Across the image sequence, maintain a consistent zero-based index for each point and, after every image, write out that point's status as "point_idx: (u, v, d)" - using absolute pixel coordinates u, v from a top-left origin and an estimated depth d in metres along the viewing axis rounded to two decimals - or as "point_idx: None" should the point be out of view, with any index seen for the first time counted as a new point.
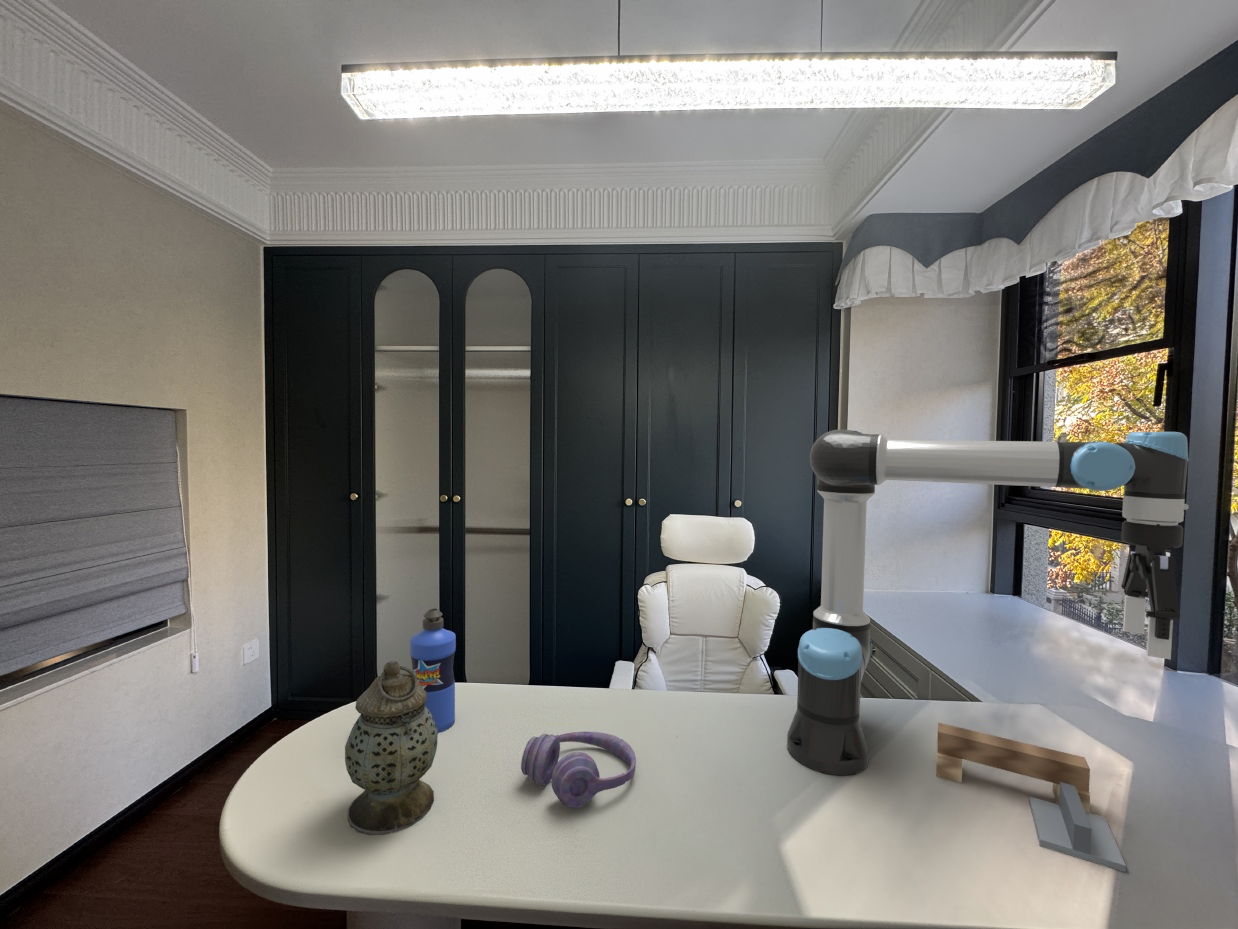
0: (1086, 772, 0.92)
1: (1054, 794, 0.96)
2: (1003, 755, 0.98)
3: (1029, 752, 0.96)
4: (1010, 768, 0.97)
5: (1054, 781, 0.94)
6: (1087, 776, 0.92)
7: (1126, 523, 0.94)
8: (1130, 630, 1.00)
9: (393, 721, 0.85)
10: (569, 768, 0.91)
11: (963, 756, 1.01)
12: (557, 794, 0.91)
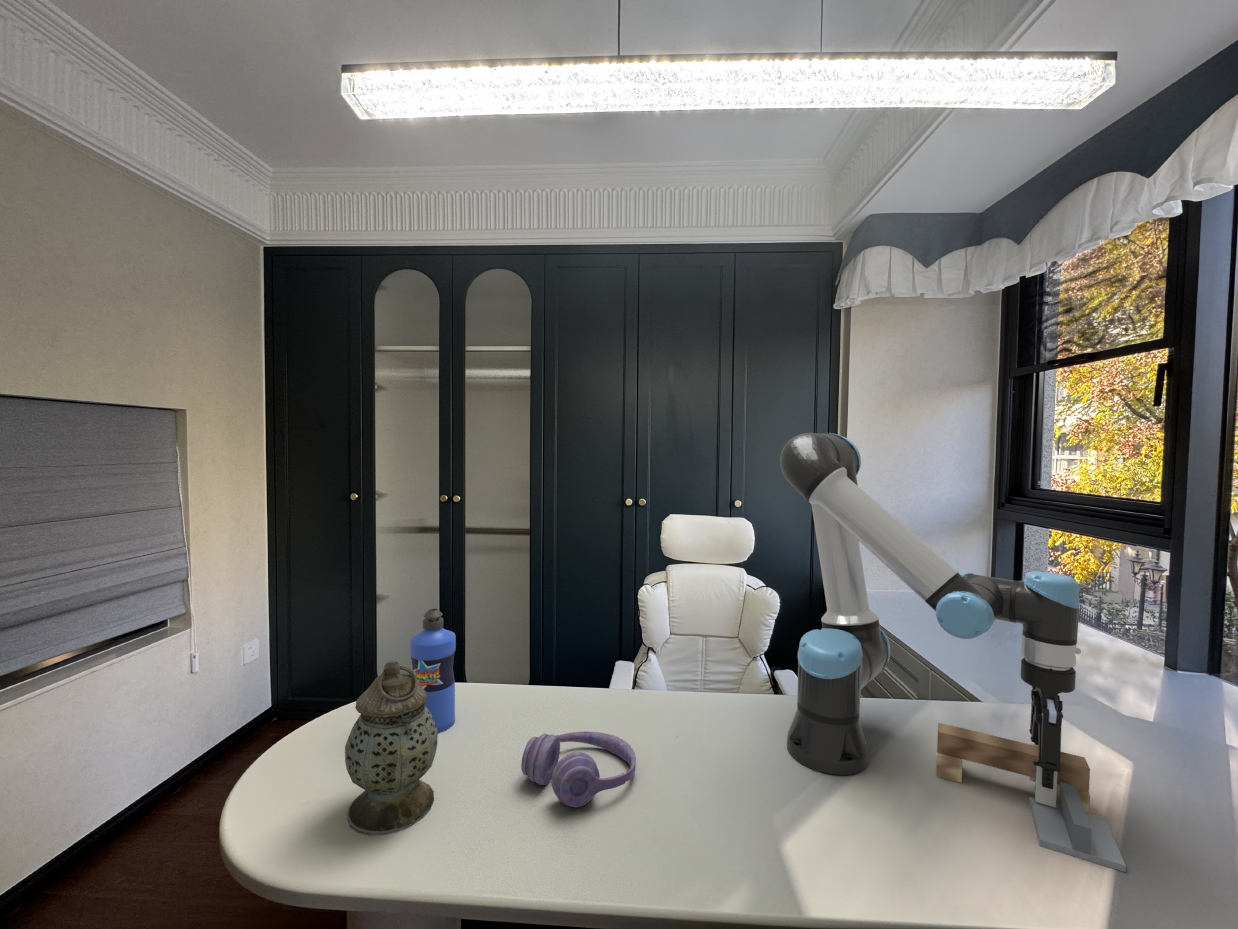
0: (1086, 772, 0.92)
1: None
2: (1003, 755, 0.98)
3: (1029, 752, 0.96)
4: (1010, 768, 0.97)
5: None
6: (1087, 776, 0.92)
7: (1023, 662, 0.96)
8: (1035, 779, 0.99)
9: (393, 721, 0.86)
10: (569, 768, 0.91)
11: (963, 756, 1.01)
12: (557, 794, 0.91)
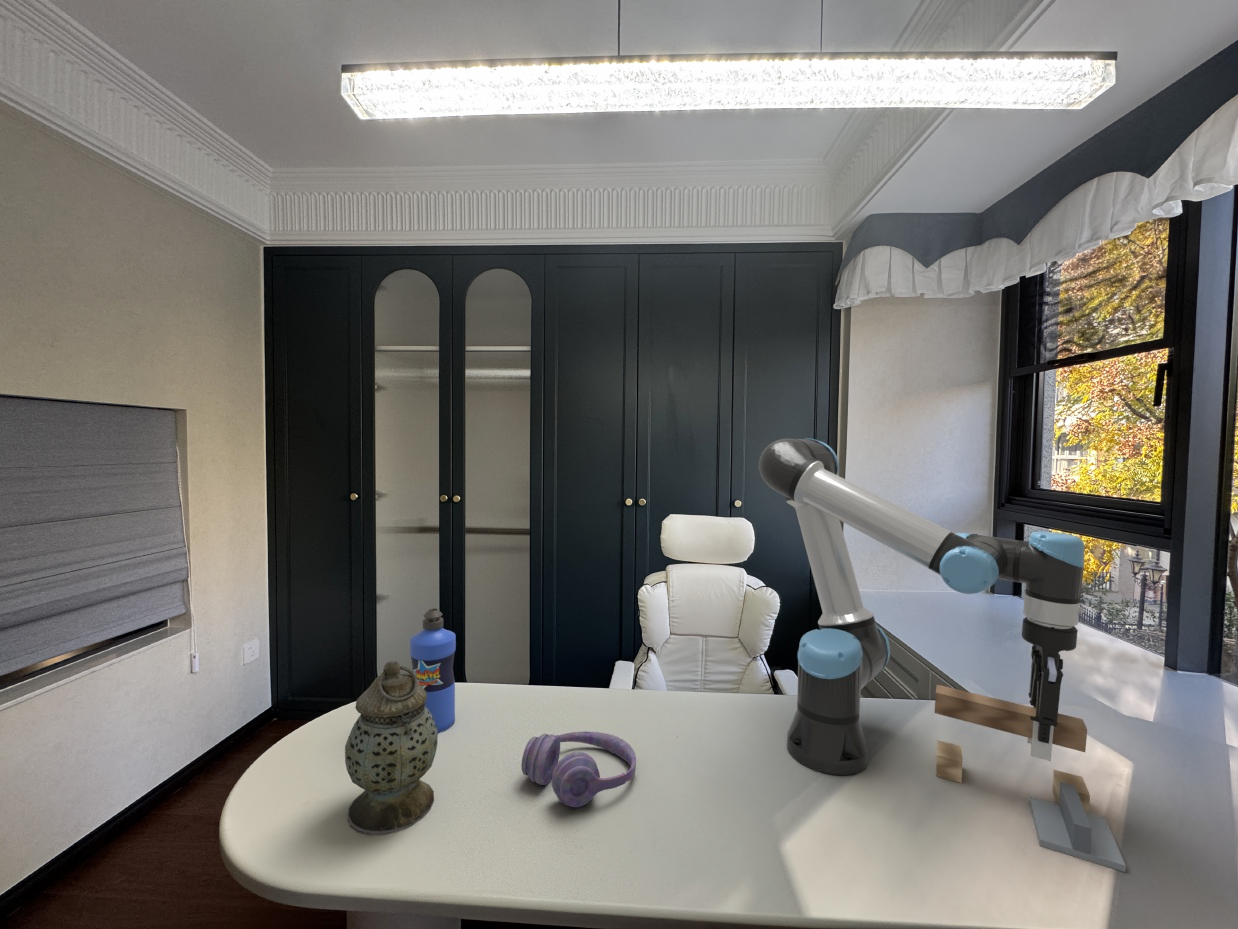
0: (1083, 732, 0.92)
1: (1054, 794, 0.96)
2: (1000, 716, 0.98)
3: (1026, 713, 0.96)
4: (1007, 728, 0.97)
5: None
6: (1084, 736, 0.92)
7: (1025, 621, 0.96)
8: None
9: (393, 721, 0.86)
10: (569, 768, 0.91)
11: (960, 717, 1.01)
12: (557, 794, 0.91)
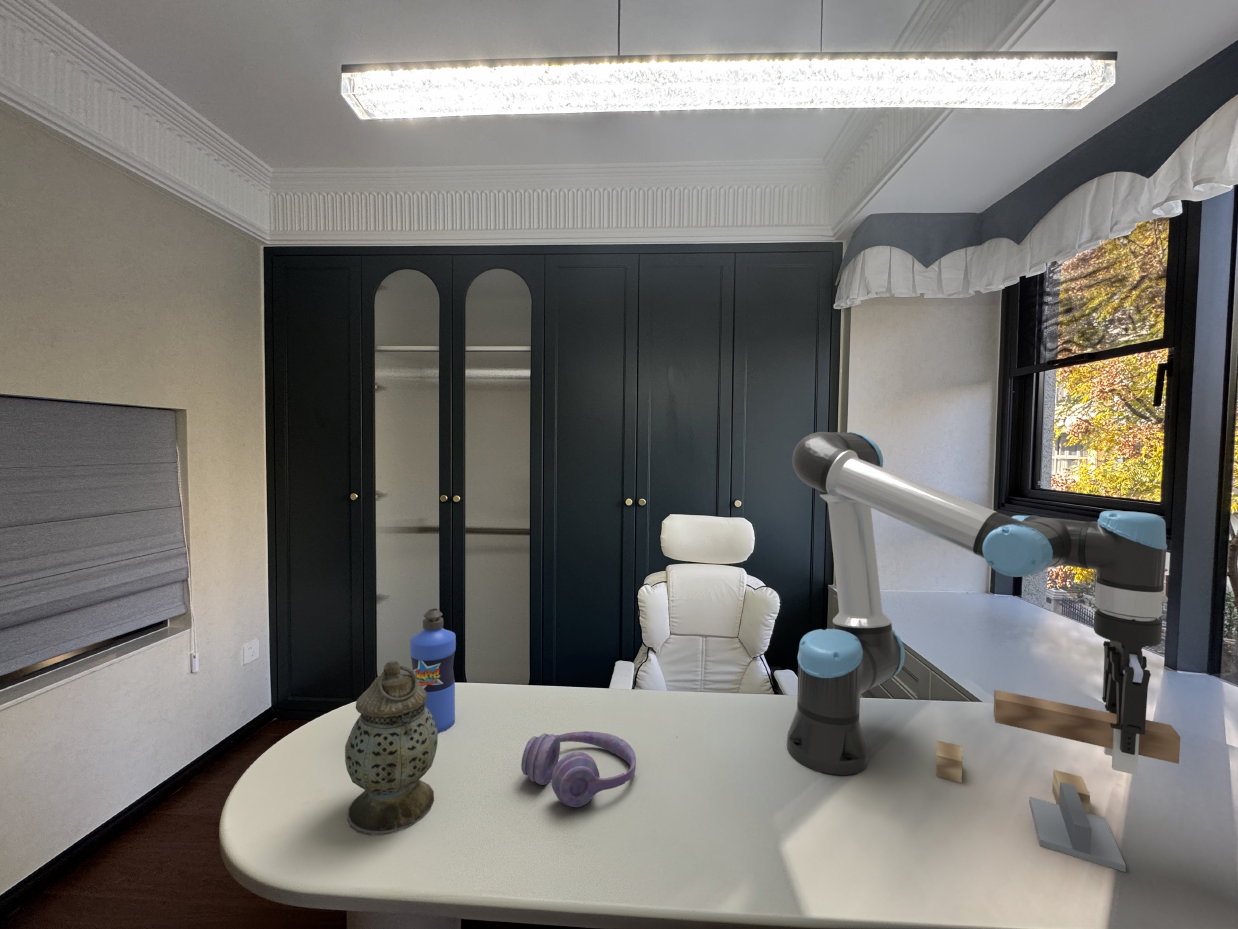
0: (1175, 740, 0.79)
1: (1054, 794, 0.96)
2: (1074, 724, 0.85)
3: (1105, 719, 0.84)
4: (1083, 738, 0.85)
5: None
6: (1177, 745, 0.79)
7: (1099, 614, 0.84)
8: (1111, 753, 0.86)
9: (393, 721, 0.86)
10: (569, 768, 0.91)
11: (1026, 726, 0.88)
12: (557, 794, 0.91)
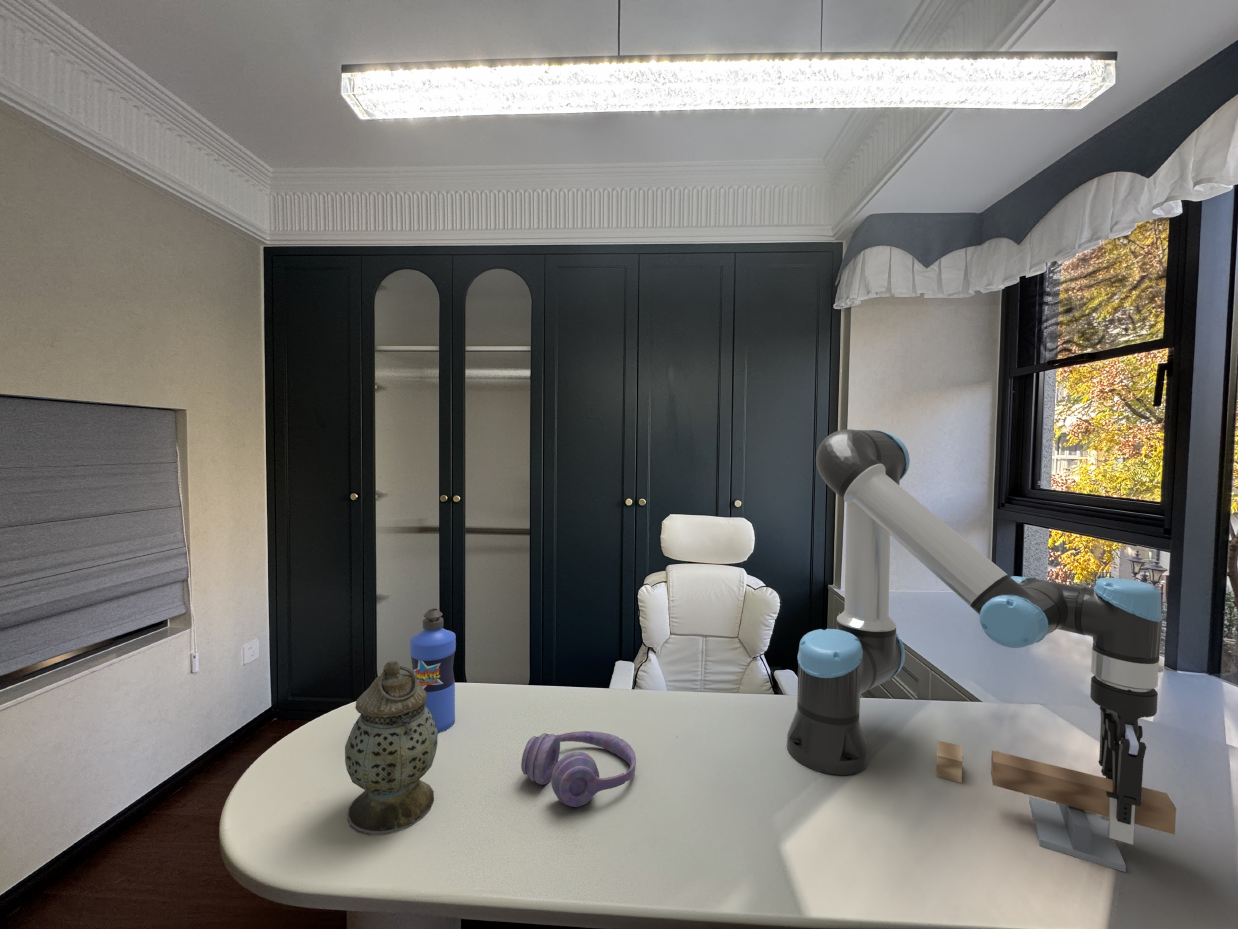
0: (1171, 811, 0.80)
1: None
2: (1071, 790, 0.86)
3: (1101, 786, 0.84)
4: (1079, 805, 0.85)
5: None
6: (1173, 816, 0.80)
7: (1095, 681, 0.85)
8: (1108, 818, 0.87)
9: (393, 721, 0.85)
10: (569, 768, 0.91)
11: (1023, 790, 0.89)
12: (557, 793, 0.91)
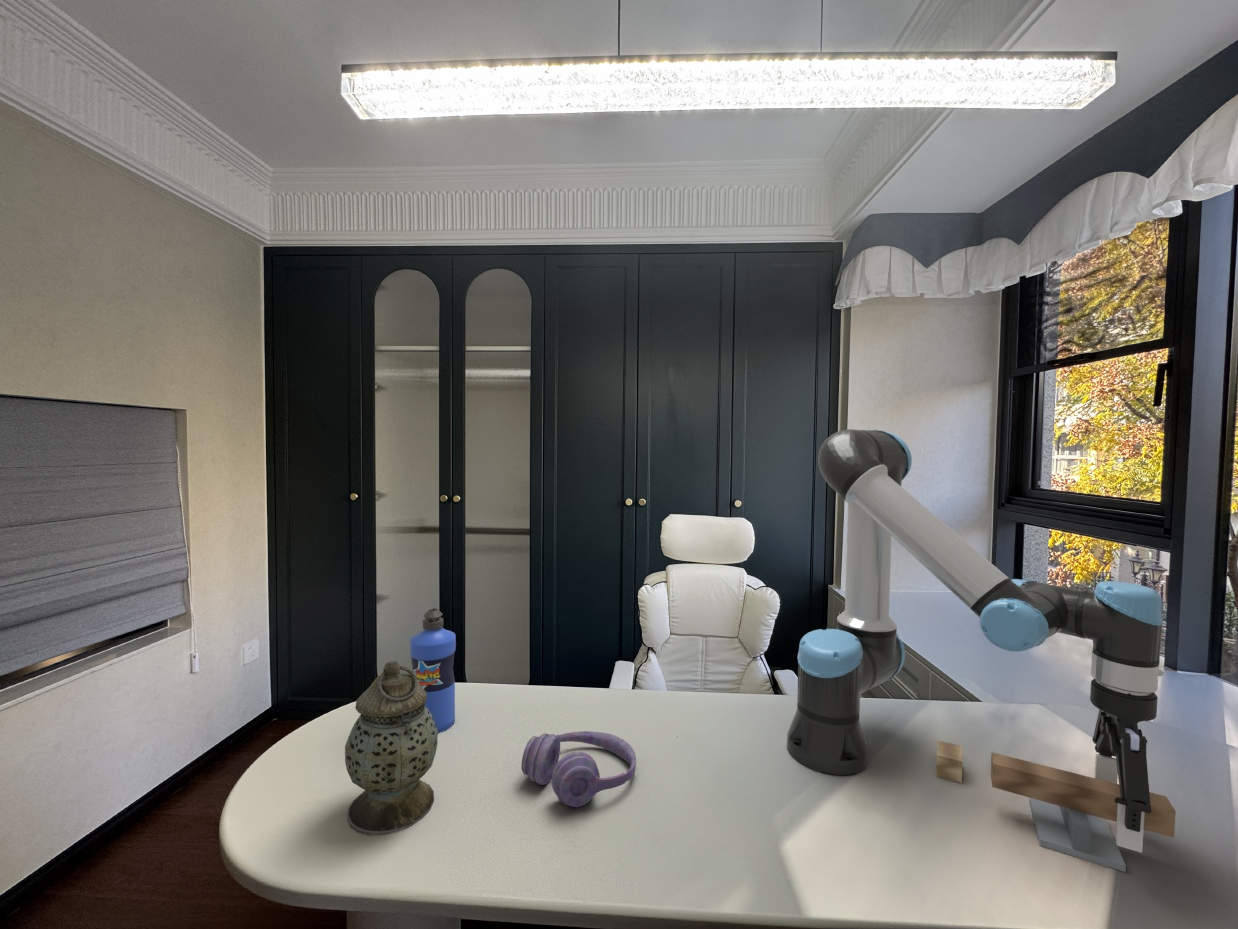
0: (1171, 814, 0.80)
1: None
2: (1070, 792, 0.86)
3: (1101, 789, 0.84)
4: (1079, 807, 0.85)
5: None
6: (1172, 819, 0.80)
7: (1095, 685, 0.85)
8: None
9: (393, 721, 0.85)
10: (569, 768, 0.91)
11: (1023, 792, 0.89)
12: (557, 794, 0.91)
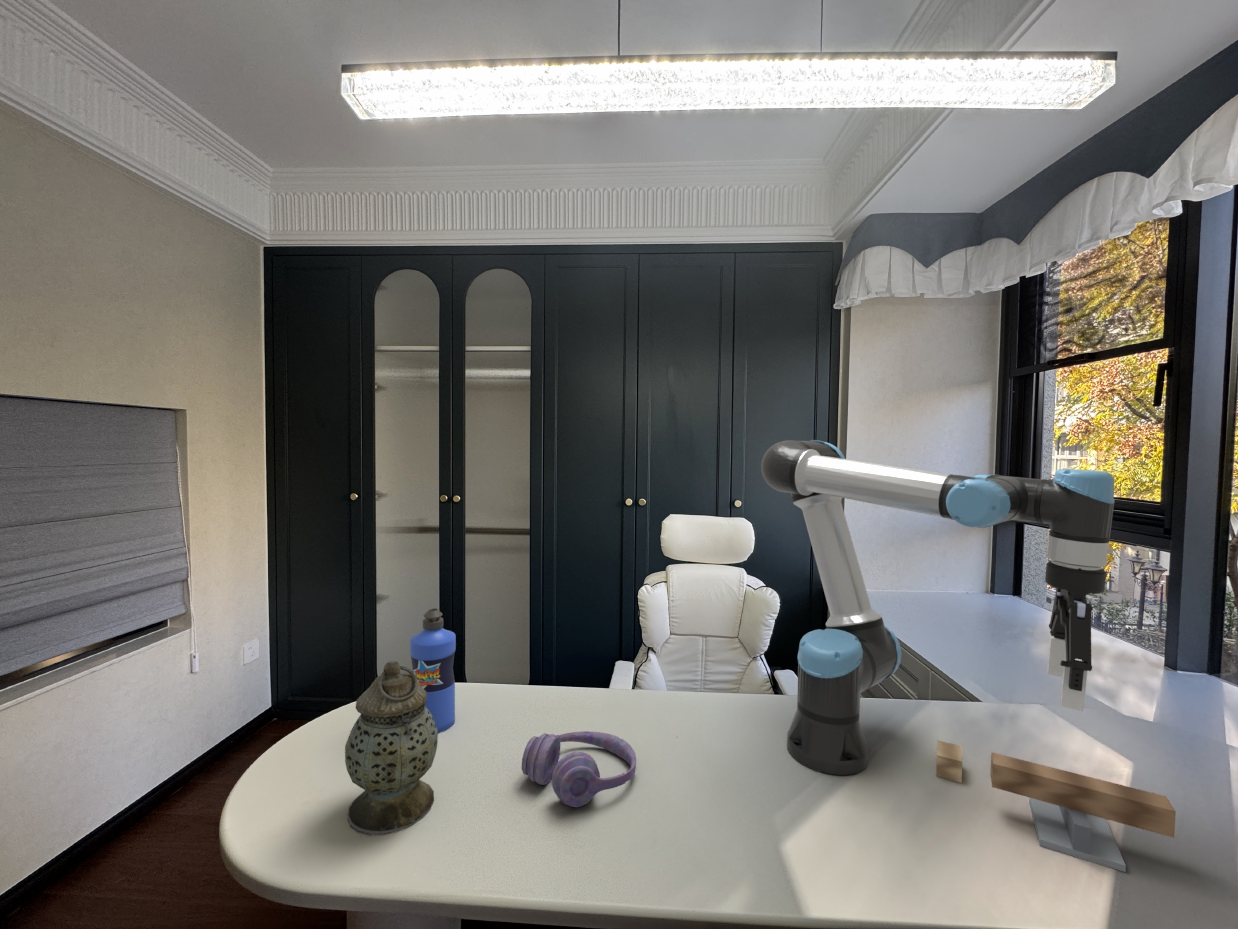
0: (1171, 814, 0.80)
1: None
2: (1070, 792, 0.86)
3: (1101, 789, 0.84)
4: (1079, 807, 0.85)
5: (1132, 824, 0.82)
6: (1172, 819, 0.80)
7: (1049, 564, 0.90)
8: (1053, 672, 0.96)
9: (393, 721, 0.86)
10: (569, 768, 0.91)
11: (1023, 792, 0.89)
12: (557, 794, 0.91)
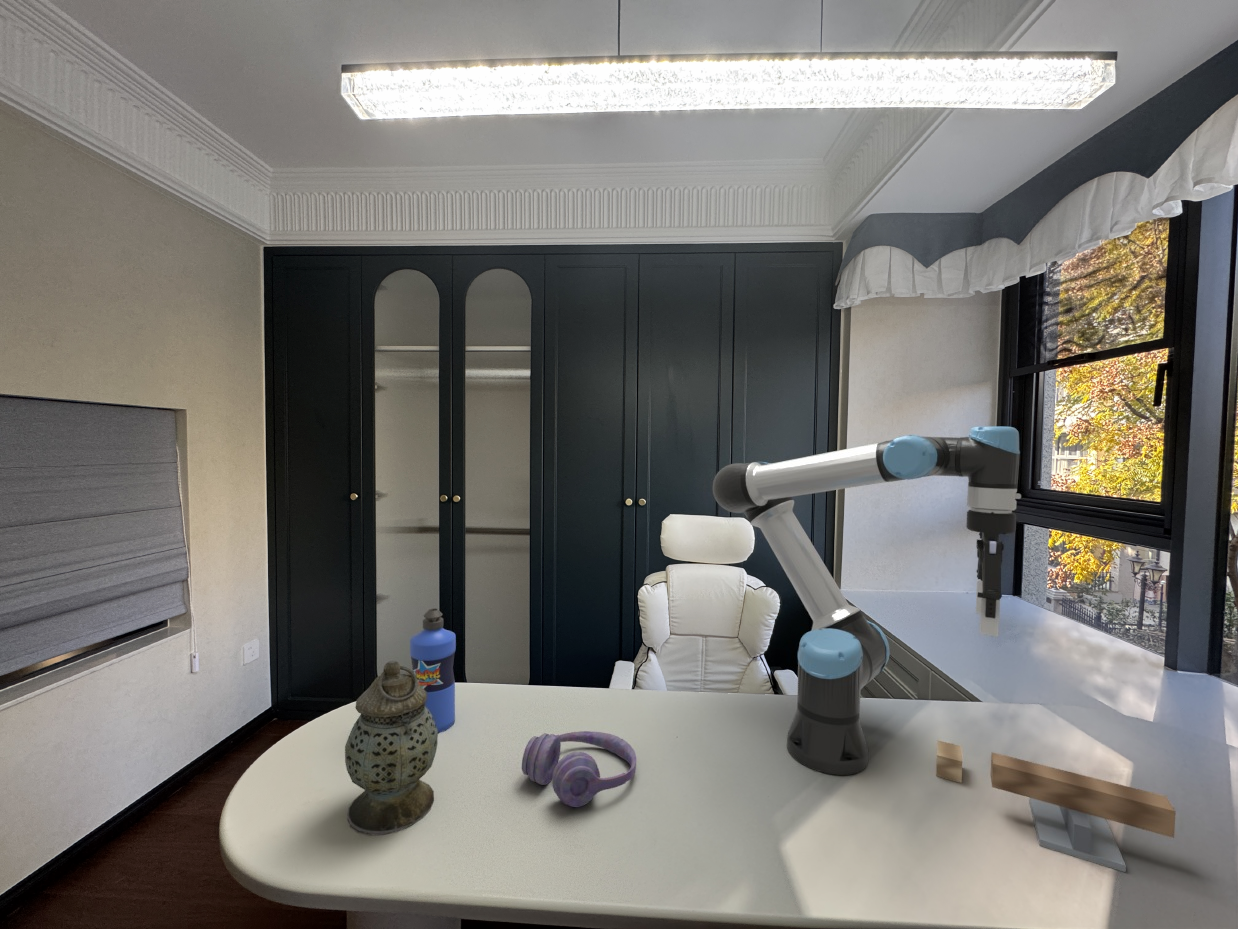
0: (1171, 814, 0.80)
1: None
2: (1070, 792, 0.86)
3: (1101, 789, 0.84)
4: (1079, 807, 0.85)
5: (1132, 824, 0.82)
6: (1172, 819, 0.80)
7: (969, 511, 1.02)
8: None
9: (393, 721, 0.86)
10: (570, 768, 0.91)
11: (1023, 792, 0.89)
12: (558, 794, 0.91)
